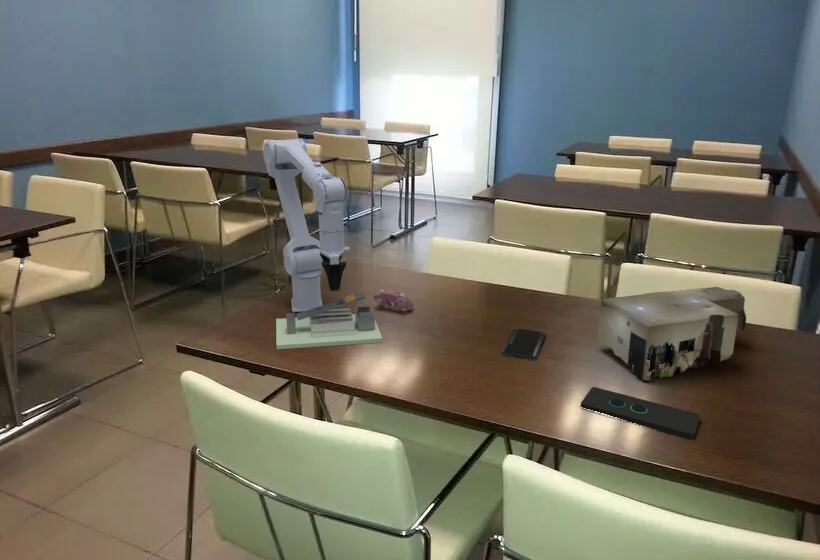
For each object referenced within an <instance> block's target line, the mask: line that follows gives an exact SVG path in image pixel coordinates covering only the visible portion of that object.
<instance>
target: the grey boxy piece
mask: <svg viewBox="0 0 820 560" xmlns="http://www.w3.org/2000/svg"><path fill="white" fill-rule="evenodd" d="M600 302H601V305H598V306H599V307H598V320H597V321H598V324H597V338H598V339H597V340H598V342H599V344H600V346H601V347H603V348H607V347H609V348H610V349H611V350H612V351H613V354H614V356H616V357H618V358H620V359H621V360H622V361H624V363H625V364H626V365H627V366H631V375H632V374H633V375H635V376H636V377H637V378H638V379H637V378H636V377H635V378H636V379H637V380H639V381H642V382H644V383H645V382H646V381H649V382H650V381H651V380H655V378H656V377H658V378H671V377H673V376H674V375H675V374H677V375H679V376H680V375H682V374H684V373H687V371H688V369H691V368H701V367H709V365H710V363H711V361H710V360H709V359H713V356H712V352H713V351H714V352H719V354H718V356H719V357H720V359H719V360H717V361H720V362H722V361H725V360H728V359H730V358H731V357H732V355H733V353H734V348H735V347H734V346H735V341H736V335H737V331H740V332H742V331H743V332H744V330H745V328H747V327H746V322H747V313H746V312H745V311H746V309H745V302H746V298H745V297H744V295H743V294H742V293H741V292H740V291H739V290H738V291H737V290H734V289H725V288H722V287H720V286H711V287H700V288H688V289H681V290H670V291H655V292H647V293H642V294H641V293H640V294H634V295H626V296H616V297H607V298H603V299H602V300H601V301H600ZM667 343H668V345H667ZM672 346H673V347H672ZM671 347H672V349H673V350H671ZM684 350H688V352H687V353H686V352H684V353H683V352H682V353H679V352H680V351H684ZM711 351H712V352H711ZM648 352H649V353H648ZM647 356H648V357H647ZM647 359H648V360H650V368H649V365H648V363H647V362H646V360H647ZM659 361H660V363H659ZM663 362H664V363H665V365H664V366H665V367H664V368H660V369H659V364H663ZM653 369H654V371H653ZM655 370H656V371H655ZM651 371H653V372H651ZM648 372H651V375H650V376H649V377H648V376H647V374H648ZM633 375H632V376H633ZM658 375H659V376H658Z"/></svg>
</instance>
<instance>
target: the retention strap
mask: <svg viewBox="0 0 820 560" xmlns="http://www.w3.org/2000/svg"><path fill="white" fill-rule="evenodd" d="M362 300H366V297H365V294H364V292H359V293H356V294H354V293H352V294H349V295H347V296H344V297H343V298H340V299H337V300H335V301H332V302H328V303H325V304H323V305H322V306H319V307H316V308H313V309H310V310H307V311H302V312H298V313H297V312H296V318H297V320H301V319H305V318H308V317H311V316H314V315H317V314H320V313H323V312H326V311H329V310H333V309H339V308H340V307H345V306H347V305H350V304H352V303H357V302H359V301H362Z"/></svg>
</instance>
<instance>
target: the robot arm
mask: <svg viewBox="0 0 820 560" xmlns="http://www.w3.org/2000/svg"><path fill="white" fill-rule="evenodd" d="M262 156H263V160H264V163H265V166H266V167H265V168H266V171H267V174H268V175H269V176H270V177H272V178H273V179H274V181H275V185H276V189H277V192H278V196H279V201H280V203H281V204H280V205H281V208H282V211H283V215H284V220H285V223H286V228H287V230H288V234H289V238H290V240H288V242H287V244H285V246H284V247H283V249H282V254H283V264H284V269H285V272H286V273H287V274H288V275H289V276H290V277H291V281H292V282H291V285H292V286H291V288H292V298H291V299H290V301H291V311H292V312H291V313H297V312H298V313H300V312H304V311H307V310H310V309H313V308H316V307H319V306H322V305H324V304H323V300H322V297H321V296H322V295H321V275H322V274H323V271H324V272H325V274H326V278H327V283H328V288H329V291H330V292H335V291H340V288H341V283H342V276H343V274H344V273H343V272H344V271H345V269H346V266H347V261H342V257H343V256H344V254H345V252H346V253H347V252H350V247H349V246H345V230H344V229H345V227H344V203H345V202H346V200H347V199H348V193H349V191H348V186H347V183H346V181H345V180H344V178H343V176H333V174H331V173H330V172H329V171H328V169H326V167H324V165H322V163H321V162H320V161H313V159H312V158H311V157H310V155H309V154H308V148H307V145H306V142H305V141H304V140H303V139H302V138H301V137H299V138H295V139H294V138H293V139H278V140H272V139H268V140H266V141H265V143H264V145H263V153H262ZM299 174H301V179H302V180H303V182H304V183H305V184H306V185H307V186H308V187H309V188H310V189H311V190H312V194H313V195H312V196H313V198H314V202H315V208H316V211H317V212H318V229H319V230H318V233H319V240H318V239H317V238H315V237H313V236H311V235H310V233H309V229H308V224H307V221H306V218H305V213H304V209H303V205H302V202H301V198H300V195H299V190H298V187H297V183H296V179H295V178H296V176H298V175H299Z"/></svg>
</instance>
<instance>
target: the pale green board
mask: <svg viewBox="0 0 820 560" xmlns="http://www.w3.org/2000/svg"><path fill="white" fill-rule="evenodd" d="M352 317H353V321H354V325H355V335H345V336H330V337H314V338H312V336H311V328H310V320H309V317H308V318H305V319H301V320H297V317H295V324H296V334H287V319H286V317H285V318H276V319H275V321H276V322H275V323H276V324H275V326H276V327H275V328H276V329H275V330H276V332H275V335H276V337H275V338H276V341H275V342H276V343H275V344H276V350H287V349H290V350H291V349H303V348H315V347H316V348H319V347H333V346H345V345H346V346H347V345H361V344H362V345H363V344H374V343H375V344H376V343H377V344H378V343H383V337H382V334H381V331H380V329H379V326H378V324H377V321H376V320H375V330H372V331H358V329H357V326H356V323H355V313H352Z"/></svg>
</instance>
